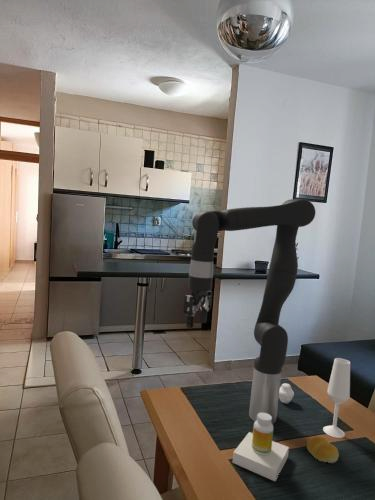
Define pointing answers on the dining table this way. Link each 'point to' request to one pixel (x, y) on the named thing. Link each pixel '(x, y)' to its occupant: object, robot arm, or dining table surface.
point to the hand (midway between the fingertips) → (196, 324)
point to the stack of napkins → (261, 458)
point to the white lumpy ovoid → (285, 393)
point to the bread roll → (322, 449)
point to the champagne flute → (338, 392)
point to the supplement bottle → (262, 434)
